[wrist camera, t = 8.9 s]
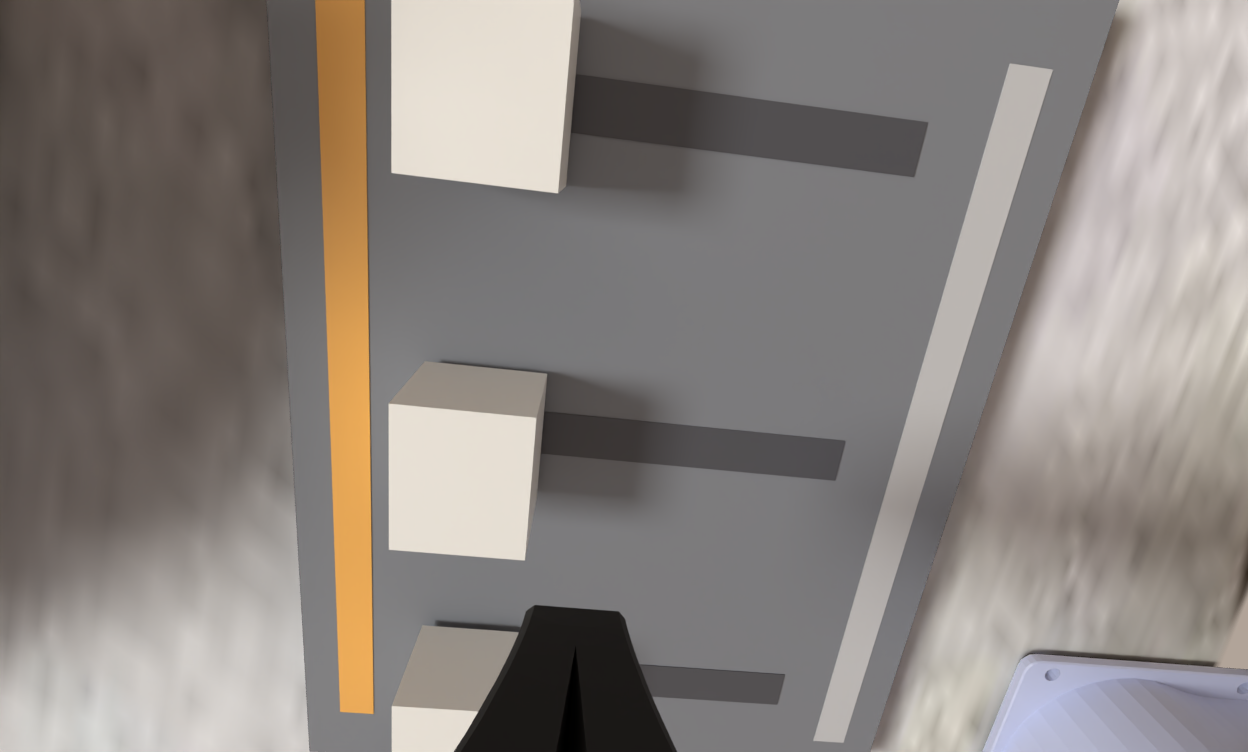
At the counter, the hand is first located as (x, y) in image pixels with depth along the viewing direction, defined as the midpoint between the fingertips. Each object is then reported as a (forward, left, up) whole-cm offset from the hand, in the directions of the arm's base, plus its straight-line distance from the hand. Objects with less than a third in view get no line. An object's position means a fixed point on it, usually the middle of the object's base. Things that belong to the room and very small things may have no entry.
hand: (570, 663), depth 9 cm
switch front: (+3, -8, -8) cm, 11 cm away
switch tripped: (+3, 0, -8) cm, 8 cm away
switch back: (+2, +8, -8) cm, 11 cm away
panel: (-1, 0, -9) cm, 9 cm away
